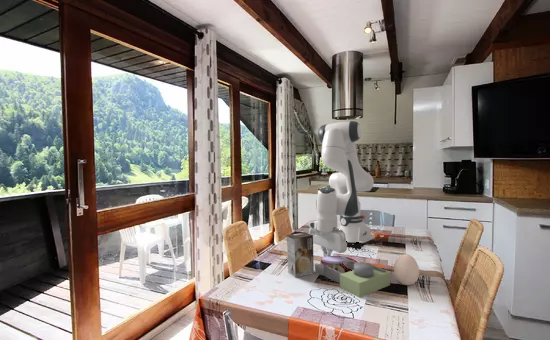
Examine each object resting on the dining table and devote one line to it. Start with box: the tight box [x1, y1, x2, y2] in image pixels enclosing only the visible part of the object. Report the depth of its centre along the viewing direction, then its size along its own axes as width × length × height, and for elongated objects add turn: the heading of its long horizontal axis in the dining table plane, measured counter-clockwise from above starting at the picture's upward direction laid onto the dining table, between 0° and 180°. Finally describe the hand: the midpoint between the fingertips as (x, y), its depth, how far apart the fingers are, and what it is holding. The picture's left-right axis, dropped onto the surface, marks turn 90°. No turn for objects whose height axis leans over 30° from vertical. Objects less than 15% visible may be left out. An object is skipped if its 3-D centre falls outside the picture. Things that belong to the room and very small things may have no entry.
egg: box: [393, 253, 420, 286], centre depth 109 cm, size 9×9×12 cm
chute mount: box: [314, 255, 358, 284], centre depth 118 cm, size 17×16×4 cm
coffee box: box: [286, 231, 315, 278], centre depth 120 cm, size 9×6×16 cm
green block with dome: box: [339, 261, 391, 298], centre depth 107 cm, size 17×9×8 cm, turn 123°
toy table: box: [321, 255, 347, 273], centre depth 121 cm, size 10×9×6 cm
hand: (327, 257), depth 126 cm, fingers closed
